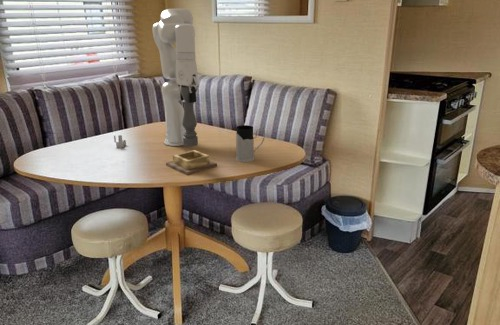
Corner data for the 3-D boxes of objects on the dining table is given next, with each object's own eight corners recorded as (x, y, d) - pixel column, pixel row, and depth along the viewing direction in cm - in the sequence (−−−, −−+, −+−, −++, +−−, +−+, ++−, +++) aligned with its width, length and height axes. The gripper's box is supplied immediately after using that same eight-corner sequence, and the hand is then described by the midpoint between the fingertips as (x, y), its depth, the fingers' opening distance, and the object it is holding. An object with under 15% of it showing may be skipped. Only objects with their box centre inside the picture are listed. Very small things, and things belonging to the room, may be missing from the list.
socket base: (166, 165, 184) (165, 155, 182) (196, 157, 194) (195, 147, 192) (186, 174, 173) (186, 164, 171) (217, 166, 183) (216, 155, 181)
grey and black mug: (233, 157, 194) (232, 125, 189) (261, 153, 199) (261, 123, 194) (239, 162, 186) (238, 130, 181) (268, 159, 191) (268, 127, 186)
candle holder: (183, 142, 182) (180, 85, 174) (198, 142, 183) (195, 85, 174) (182, 146, 176) (179, 87, 168) (197, 146, 177) (194, 87, 169)
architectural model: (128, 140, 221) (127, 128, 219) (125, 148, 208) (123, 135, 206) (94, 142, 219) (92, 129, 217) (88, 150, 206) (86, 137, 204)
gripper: (166, 55, 171) (169, 99, 177) (190, 58, 159) (192, 105, 165) (182, 54, 176) (184, 97, 182) (206, 57, 164) (208, 103, 170)
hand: (188, 100), depth 173 cm, fingers closed on candle holder, 5 cm apart
